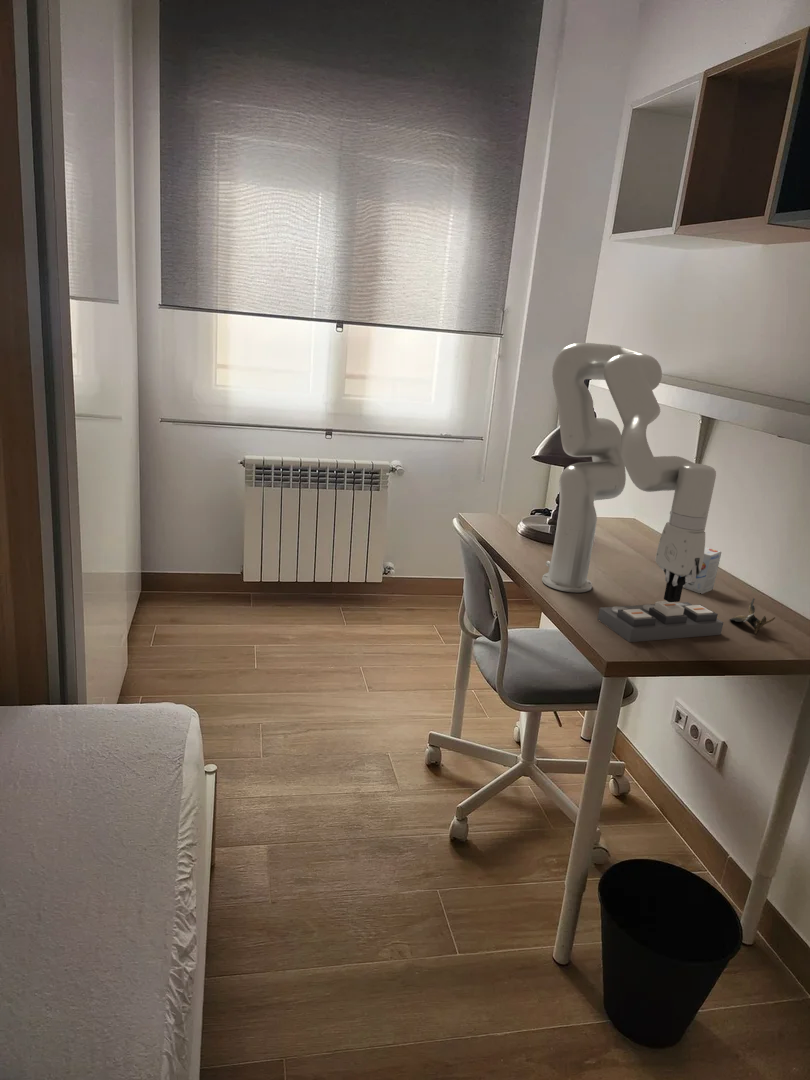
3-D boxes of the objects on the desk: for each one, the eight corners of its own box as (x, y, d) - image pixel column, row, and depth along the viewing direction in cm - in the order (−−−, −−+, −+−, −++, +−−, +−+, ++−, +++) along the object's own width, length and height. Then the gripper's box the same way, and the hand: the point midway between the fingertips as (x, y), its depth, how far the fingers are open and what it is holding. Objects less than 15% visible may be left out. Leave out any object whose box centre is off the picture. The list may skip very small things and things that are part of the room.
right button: (683, 612, 178) (684, 605, 177) (698, 611, 180) (700, 604, 179) (696, 620, 174) (697, 612, 174) (711, 619, 176) (713, 611, 175)
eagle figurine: (778, 630, 179) (756, 608, 186) (773, 608, 175) (750, 587, 183) (748, 645, 179) (727, 622, 187) (742, 623, 175) (720, 601, 183)
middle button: (654, 608, 174) (655, 601, 174) (670, 607, 176) (671, 600, 175) (666, 616, 171) (668, 608, 170) (682, 615, 172) (684, 607, 172)
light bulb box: (664, 581, 208) (672, 543, 205) (676, 577, 213) (684, 540, 210) (702, 594, 201) (711, 555, 198) (713, 589, 206) (722, 551, 202)
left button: (621, 616, 172) (622, 609, 171) (637, 615, 173) (639, 608, 173) (633, 624, 168) (635, 617, 167) (650, 623, 169) (651, 616, 169)
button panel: (597, 619, 177) (600, 601, 176) (685, 613, 186) (689, 595, 185) (629, 642, 167) (633, 622, 165) (720, 634, 176) (725, 615, 174)
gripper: (651, 512, 172) (636, 589, 178) (697, 531, 159) (680, 614, 164) (678, 511, 175) (663, 588, 180) (726, 531, 162) (708, 612, 167)
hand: (671, 600), depth 172 cm, fingers closed
